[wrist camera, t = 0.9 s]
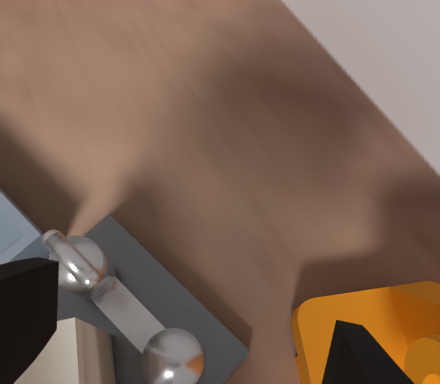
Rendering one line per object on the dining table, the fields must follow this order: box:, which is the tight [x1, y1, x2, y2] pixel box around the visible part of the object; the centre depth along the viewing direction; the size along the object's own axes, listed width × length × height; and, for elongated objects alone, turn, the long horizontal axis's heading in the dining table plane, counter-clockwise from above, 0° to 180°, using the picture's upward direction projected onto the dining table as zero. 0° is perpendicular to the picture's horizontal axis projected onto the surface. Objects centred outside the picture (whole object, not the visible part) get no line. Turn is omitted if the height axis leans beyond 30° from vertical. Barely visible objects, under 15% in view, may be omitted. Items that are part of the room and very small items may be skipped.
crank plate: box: [57, 214, 250, 384], centre depth 21 cm, size 12×11×1 cm
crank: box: [42, 229, 204, 384], centre depth 19 cm, size 9×3×5 cm, turn 47°
